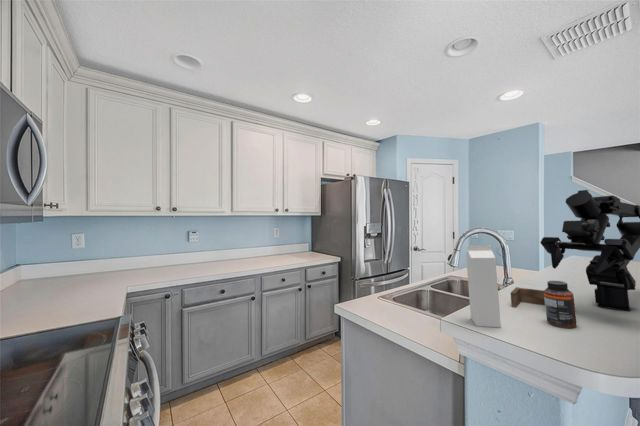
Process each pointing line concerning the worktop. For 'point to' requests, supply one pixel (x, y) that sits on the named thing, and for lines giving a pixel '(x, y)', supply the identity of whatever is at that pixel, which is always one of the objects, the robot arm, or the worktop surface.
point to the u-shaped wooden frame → (527, 296)
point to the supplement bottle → (559, 305)
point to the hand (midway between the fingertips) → (573, 270)
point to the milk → (483, 286)
